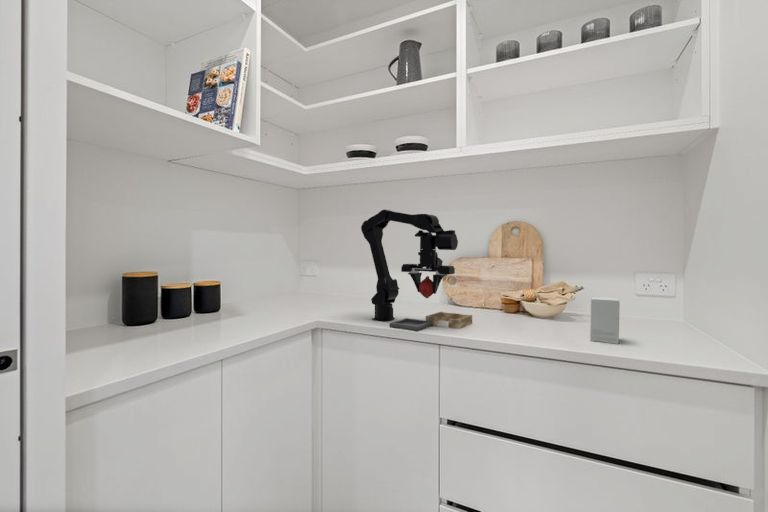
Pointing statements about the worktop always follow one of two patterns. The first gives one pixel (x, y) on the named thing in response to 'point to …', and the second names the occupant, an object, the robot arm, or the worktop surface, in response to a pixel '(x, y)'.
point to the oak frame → (451, 319)
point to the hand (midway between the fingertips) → (426, 292)
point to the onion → (426, 287)
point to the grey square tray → (411, 324)
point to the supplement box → (604, 320)
